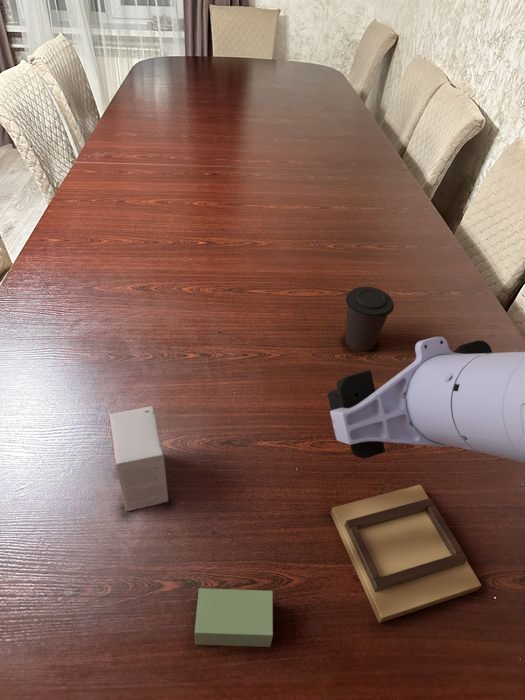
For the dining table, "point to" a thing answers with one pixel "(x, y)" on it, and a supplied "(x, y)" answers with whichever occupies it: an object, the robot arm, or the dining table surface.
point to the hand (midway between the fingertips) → (376, 392)
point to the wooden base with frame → (403, 552)
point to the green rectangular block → (234, 617)
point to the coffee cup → (366, 316)
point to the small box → (138, 457)
